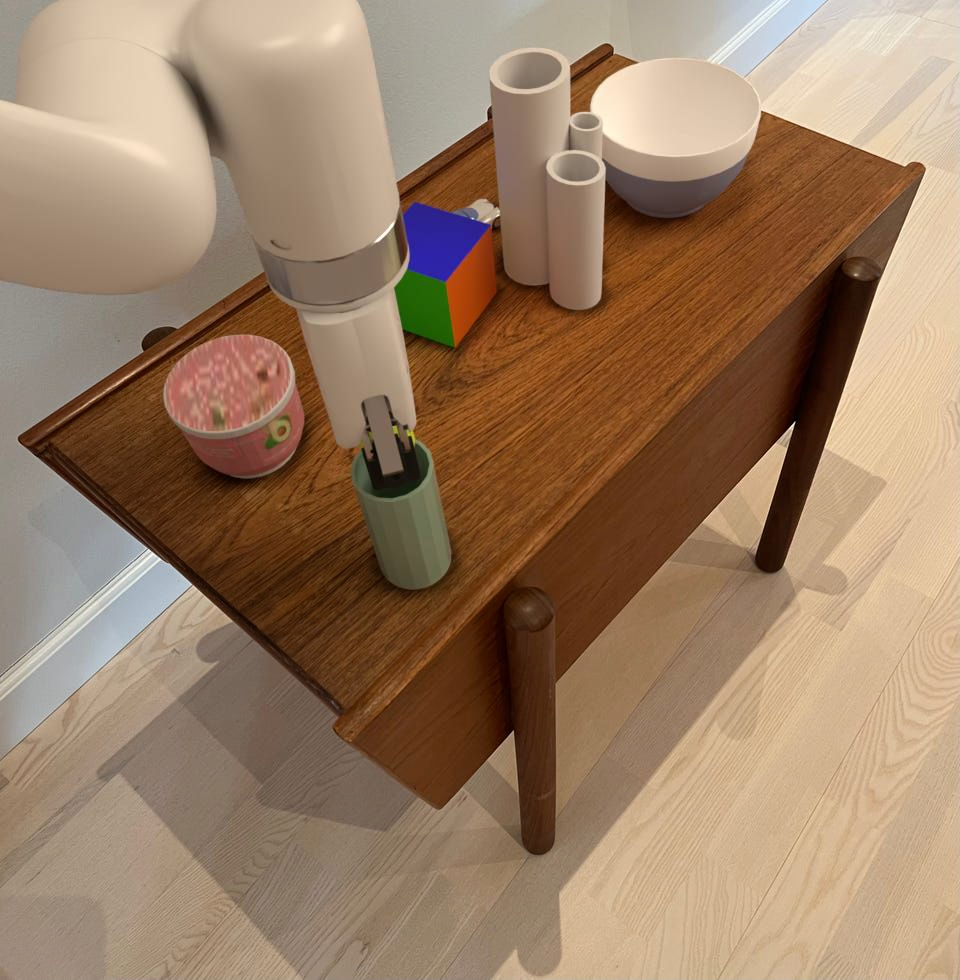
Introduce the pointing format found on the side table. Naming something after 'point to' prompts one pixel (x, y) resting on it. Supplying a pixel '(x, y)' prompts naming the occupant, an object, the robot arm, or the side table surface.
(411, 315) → the cube
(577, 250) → the vase
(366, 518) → the tube
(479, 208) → the toy car
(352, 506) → the side table surface
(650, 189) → the bowl
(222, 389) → the container
